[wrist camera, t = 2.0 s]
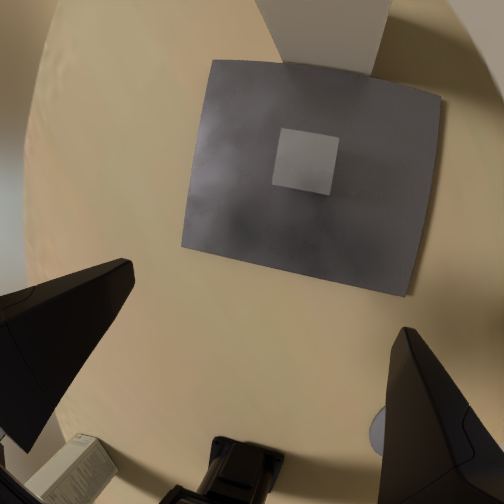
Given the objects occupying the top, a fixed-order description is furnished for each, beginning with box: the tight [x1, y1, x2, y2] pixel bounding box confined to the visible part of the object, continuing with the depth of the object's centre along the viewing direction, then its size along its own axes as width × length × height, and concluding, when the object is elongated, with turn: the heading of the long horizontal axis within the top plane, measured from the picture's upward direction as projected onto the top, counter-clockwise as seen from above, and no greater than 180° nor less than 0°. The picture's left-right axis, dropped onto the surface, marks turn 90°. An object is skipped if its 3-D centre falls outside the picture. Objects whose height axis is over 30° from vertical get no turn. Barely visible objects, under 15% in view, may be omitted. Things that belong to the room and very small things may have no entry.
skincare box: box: [24, 434, 118, 504], centre depth 25 cm, size 6×4×12 cm
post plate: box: [181, 60, 441, 297], centre depth 17 cm, size 13×15×5 cm
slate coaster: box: [369, 406, 386, 457], centre depth 20 cm, size 8×8×1 cm
